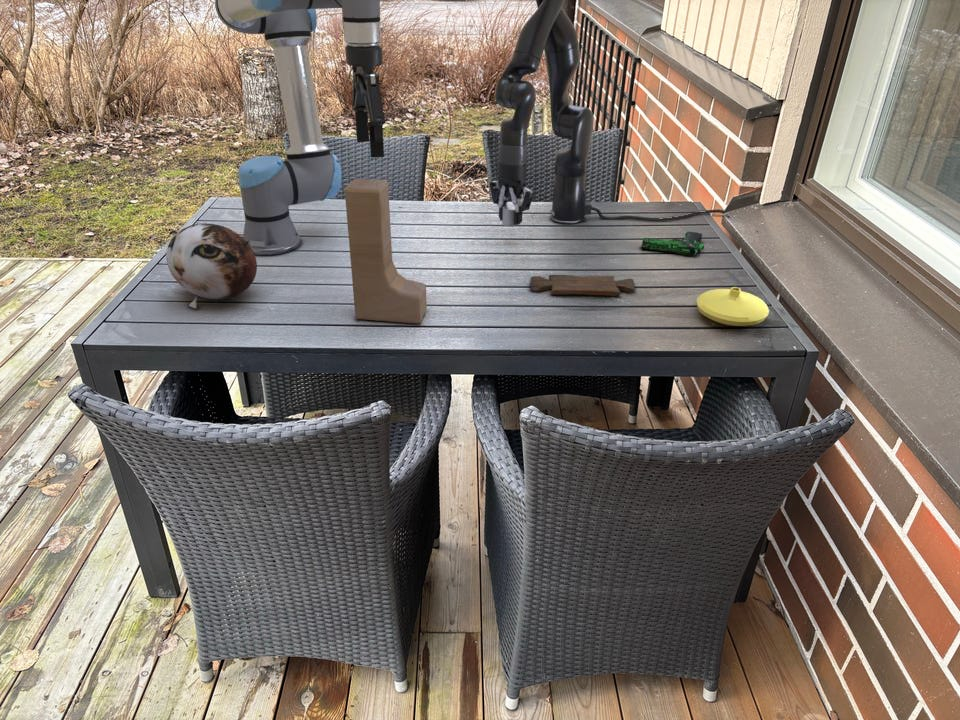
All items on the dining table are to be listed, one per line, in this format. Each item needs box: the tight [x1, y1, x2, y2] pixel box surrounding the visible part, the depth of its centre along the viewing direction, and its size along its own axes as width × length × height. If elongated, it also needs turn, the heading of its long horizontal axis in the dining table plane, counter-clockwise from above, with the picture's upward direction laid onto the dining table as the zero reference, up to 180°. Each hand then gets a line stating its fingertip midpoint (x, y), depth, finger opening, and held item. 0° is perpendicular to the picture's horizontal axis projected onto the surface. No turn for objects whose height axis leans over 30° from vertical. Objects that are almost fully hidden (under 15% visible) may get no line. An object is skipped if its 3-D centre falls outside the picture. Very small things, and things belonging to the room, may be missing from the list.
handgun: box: [640, 231, 705, 257], centre depth 200 cm, size 16×3×15 cm
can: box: [501, 204, 518, 227], centre depth 196 cm, size 4×4×5 cm
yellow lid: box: [696, 286, 770, 327], centre depth 161 cm, size 16×16×7 cm
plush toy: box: [165, 222, 258, 309], centre depth 165 cm, size 22×18×20 cm
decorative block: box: [344, 177, 428, 324], centre depth 154 cm, size 8×15×30 cm, turn 82°
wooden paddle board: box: [529, 274, 635, 297], centre depth 175 cm, size 26×2×10 cm
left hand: (370, 149), depth 157 cm, fingers open, 13 cm apart
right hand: (510, 221), depth 197 cm, fingers closed on can, 4 cm apart
